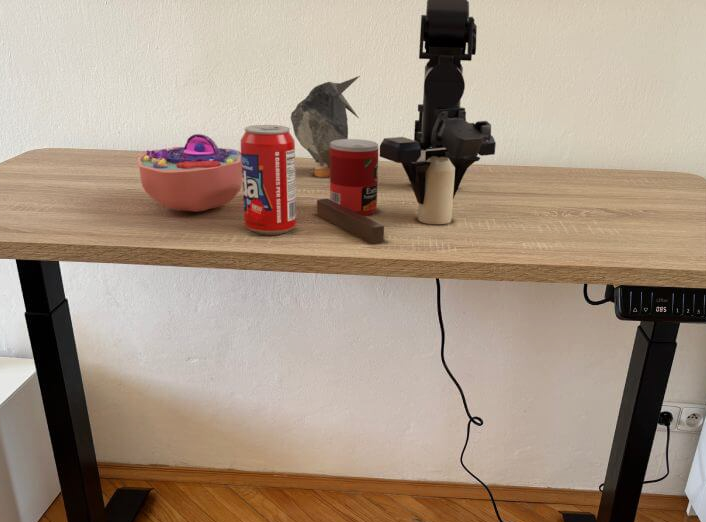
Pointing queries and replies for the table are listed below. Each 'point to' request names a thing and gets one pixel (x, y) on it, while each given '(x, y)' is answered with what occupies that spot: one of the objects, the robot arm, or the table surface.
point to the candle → (438, 192)
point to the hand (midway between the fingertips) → (435, 201)
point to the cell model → (192, 175)
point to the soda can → (268, 179)
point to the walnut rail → (351, 221)
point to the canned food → (354, 174)
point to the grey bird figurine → (322, 122)
